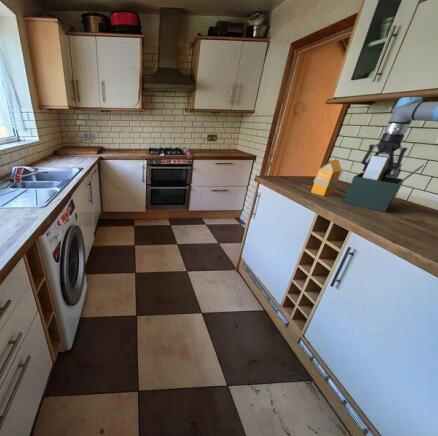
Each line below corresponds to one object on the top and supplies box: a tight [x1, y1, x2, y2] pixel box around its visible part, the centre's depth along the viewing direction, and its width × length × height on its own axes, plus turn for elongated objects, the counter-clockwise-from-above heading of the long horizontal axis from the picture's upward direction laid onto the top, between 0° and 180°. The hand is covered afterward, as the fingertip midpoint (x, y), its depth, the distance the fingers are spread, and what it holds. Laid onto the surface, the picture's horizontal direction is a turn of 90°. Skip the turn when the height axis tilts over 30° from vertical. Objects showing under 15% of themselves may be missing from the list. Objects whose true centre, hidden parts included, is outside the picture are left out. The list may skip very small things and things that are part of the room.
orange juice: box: [310, 159, 343, 197], centre depth 134 cm, size 8×9×20 cm
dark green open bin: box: [342, 171, 404, 213], centre depth 121 cm, size 17×16×14 cm
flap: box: [400, 164, 424, 183], centre depth 108 cm, size 8×16×1 cm
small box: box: [363, 154, 396, 181], centre depth 117 cm, size 8×6×13 cm
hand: (372, 179), depth 119 cm, fingers closed on small box, 7 cm apart
